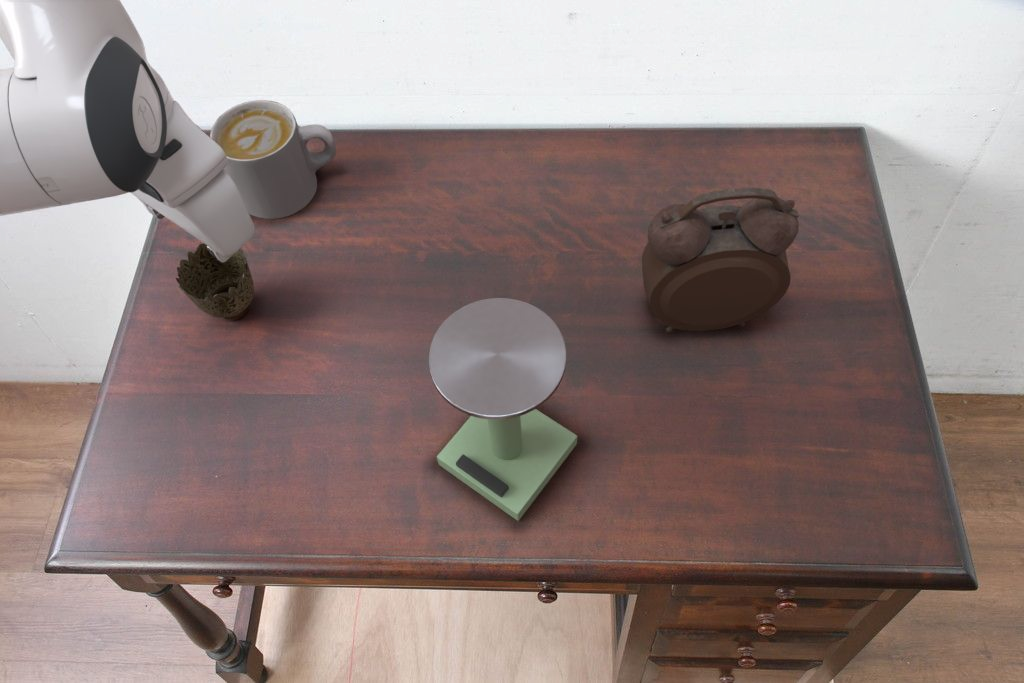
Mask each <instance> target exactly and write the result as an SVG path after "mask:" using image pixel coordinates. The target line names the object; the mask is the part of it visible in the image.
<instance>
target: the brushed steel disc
mask: <svg viewBox="0 0 1024 683" xmlns="http://www.w3.org/2000/svg"><path fill="white" fill-rule="evenodd" d="M566 367H567V347H566V342H565V339H564V336H563V335H562V332H561V330H560V329H559V327H558V325H557V324H556V323H555V321H554V320H553V319H552V318H551V317H550V316H549V315H548V314H546V313H545V311H542V310H541V309H540V308H539V307H537V306H535V305H532V304H531V303H528V302H525V301H523V300H519V299H514V298H507V297H494V298H492V297H491V298H485V299H481V300H477V301H474V302H473V301H472V302H470V303H468V304H466V305H464V306H462V307H461V308H459V309H457V310H456V311H454V312H452V314H450V315H449V316H448V317H447V318H446V319H445V320H444V321H443V322H442V323H441V324H440V326H439V327H438V328H437V330H436V332H435V334H434V335H433V337H432V340H431V343H430V346H429V351H428V368H429V374H430V377H431V380H432V383H433V385H434V387H435V389H436V391H437V392H438V393H439V394H440V396H441V397H442V398H443V400H445V402H447V403H448V404H449V405H450V406H452V407H453V408H454V409H456V410H457V411H459V412H461V413H463V414H465V415H467V416H469V417H471V416H473V417H477V418H481V419H487V420H503V419H510V418H515V417H519V416H521V415H524V414H527V413H529V412H531V411H533V410H535V409H538V408H540V407H541V406H542V405H543V404H545V403H546V402H547V401H548V400H550V398H551V397H552V396H553V395H554V394H555V392H556V390H557V389H558V388H559V387H560V384H561V383H562V381H563V378H564V375H565V371H566Z"/></svg>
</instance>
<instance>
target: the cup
mask: <svg viewBox="0 0 1024 683" xmlns="http://www.w3.org/2000/svg"><path fill="white" fill-rule="evenodd" d="M206 246H207V245H206V244H204V243H203V242H202V243H199V244H198V245H197V247H196V250H195V251H194V252H193V251H187V252H186V256H187V259H180V260H179V266H176V269H177V270H176V271H177V276H178V277H175V280H176V282H177V283H178V288H179V290H180V291H182V292H183V293H184V294H185V295H186V297H188V299H189V300H191V302H192V303H193V304H194V305H196V306H197V308H199V309H200V310H201V311H202V312H203V313H205V314H207V315H208V316H211V317H213V318H218V319H224V320H227V321H237V320H240V319H242V318H243V317H245V316H246V315H247V313H248V312H249V310H250V305H251V303H252V300H253V298H254V293H255V284H254V280H253V276H252V272H251V269H250V266H249V263H248V261H247V257H246V255H245V253H244V250H243V249H242V248H241V249H239V250H238V251H237V252H236V253H234V254H233V255H232V256H231V257H230V258H229V259H228V260H227V261H226V262H220V261H219V260H218V259H216V258H215V257H213V256H212V255H211V254H210V252H209V250H208V249H207V247H206Z"/></svg>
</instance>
